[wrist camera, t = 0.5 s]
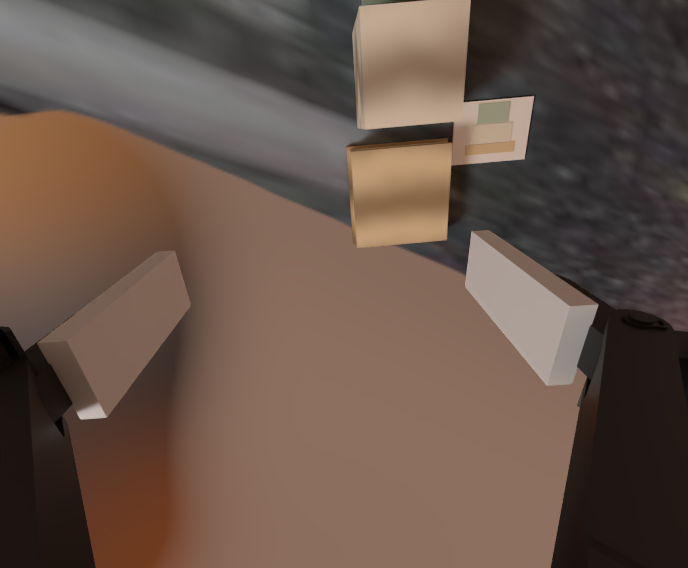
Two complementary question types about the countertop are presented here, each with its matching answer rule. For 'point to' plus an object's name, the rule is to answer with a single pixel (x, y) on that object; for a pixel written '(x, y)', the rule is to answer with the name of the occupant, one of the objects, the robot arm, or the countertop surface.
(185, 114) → the countertop surface
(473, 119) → the page
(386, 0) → the sage brick
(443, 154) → the base
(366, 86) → the birch brick
